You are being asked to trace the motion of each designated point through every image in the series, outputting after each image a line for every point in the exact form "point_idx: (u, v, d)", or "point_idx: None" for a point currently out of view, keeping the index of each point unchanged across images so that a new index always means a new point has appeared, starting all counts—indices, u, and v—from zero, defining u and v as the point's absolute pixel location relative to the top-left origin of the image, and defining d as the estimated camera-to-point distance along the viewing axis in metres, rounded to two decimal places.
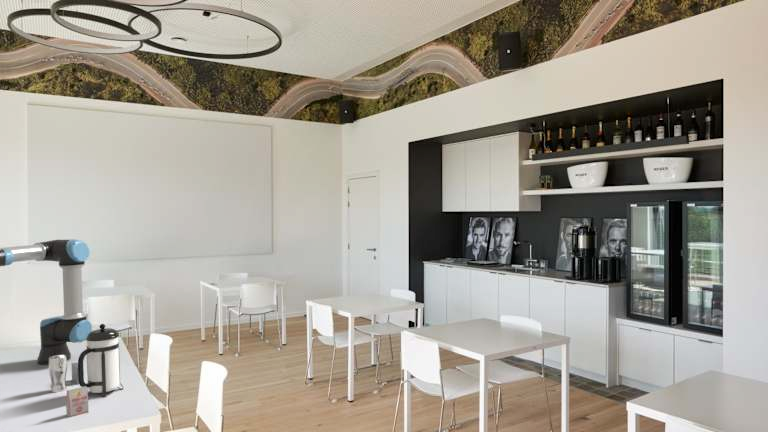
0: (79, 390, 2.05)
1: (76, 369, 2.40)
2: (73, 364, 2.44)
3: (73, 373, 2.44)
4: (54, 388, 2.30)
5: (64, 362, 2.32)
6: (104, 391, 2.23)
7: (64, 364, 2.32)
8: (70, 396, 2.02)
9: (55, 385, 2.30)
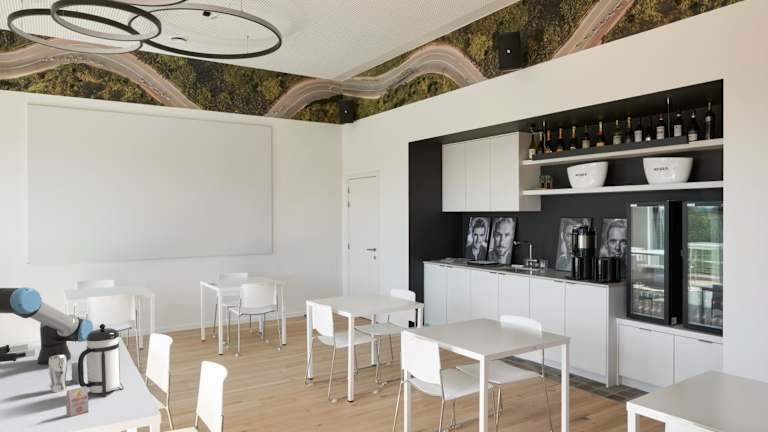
0: (79, 390, 2.05)
1: (76, 369, 2.40)
2: (73, 364, 2.44)
3: (73, 373, 2.44)
4: (54, 388, 2.30)
5: (64, 362, 2.32)
6: (104, 391, 2.23)
7: (64, 364, 2.32)
8: (70, 396, 2.02)
9: (55, 385, 2.30)
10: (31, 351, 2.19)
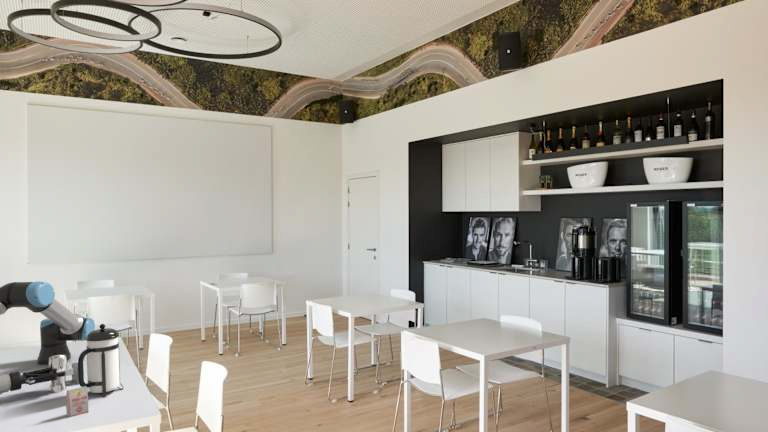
0: (79, 390, 2.05)
1: (76, 369, 2.40)
2: (73, 364, 2.44)
3: None
4: (54, 388, 2.30)
5: (64, 362, 2.32)
6: (104, 391, 2.23)
7: (64, 364, 2.32)
8: (70, 396, 2.02)
9: (55, 385, 2.30)
10: (70, 370, 2.32)
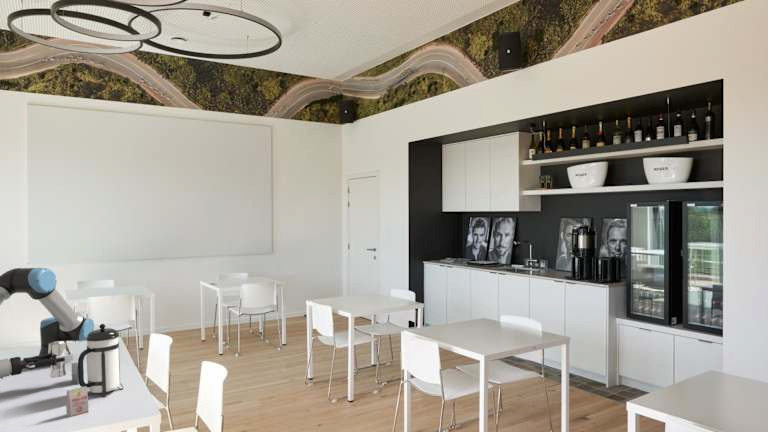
0: (79, 390, 2.05)
1: (76, 369, 2.40)
2: (73, 364, 2.44)
3: (73, 373, 2.44)
4: (54, 373, 2.35)
5: (63, 348, 2.37)
6: (104, 391, 2.23)
7: (63, 350, 2.37)
8: (70, 396, 2.02)
9: (54, 370, 2.35)
10: (69, 356, 2.37)
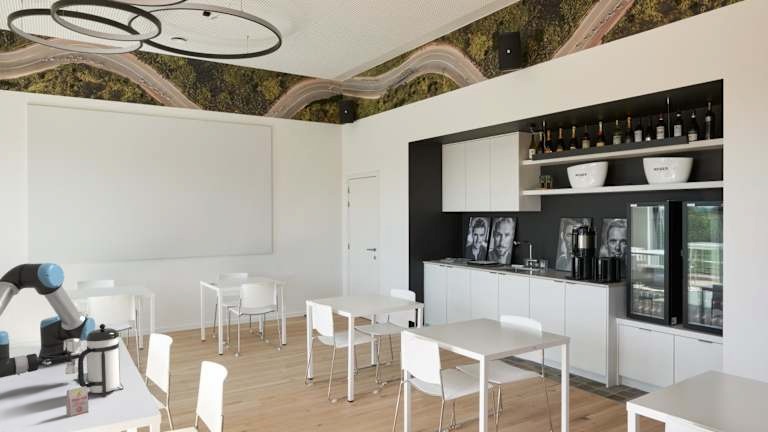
0: (79, 390, 2.05)
1: None
2: None
3: None
4: (69, 370, 2.39)
5: (78, 345, 2.41)
6: (104, 391, 2.23)
7: (78, 347, 2.41)
8: (70, 396, 2.02)
9: (69, 367, 2.39)
10: None
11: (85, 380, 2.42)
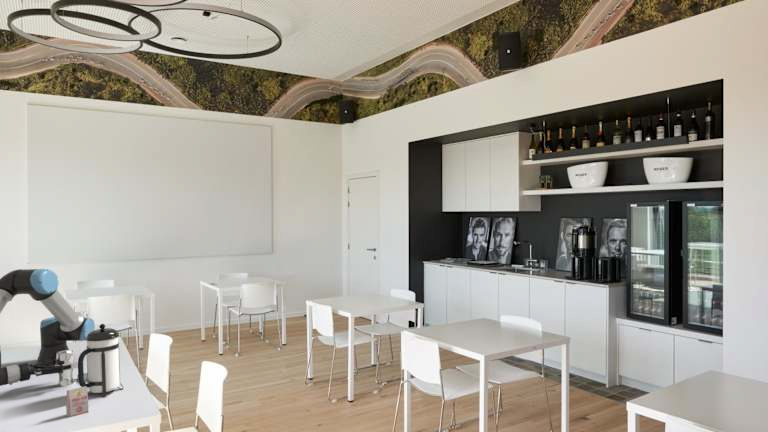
0: (79, 390, 2.05)
1: None
2: None
3: None
4: (61, 382, 2.37)
5: (71, 357, 2.39)
6: (104, 391, 2.23)
7: (71, 359, 2.39)
8: (70, 396, 2.02)
9: (62, 379, 2.37)
10: (76, 363, 2.38)
11: (85, 380, 2.42)
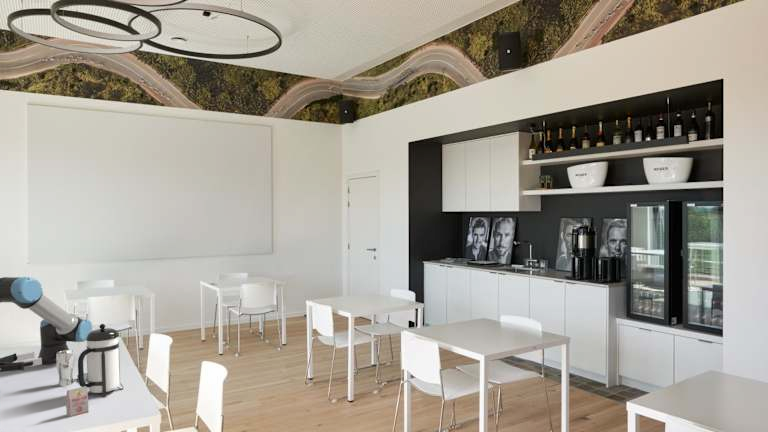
0: (79, 390, 2.05)
1: None
2: None
3: None
4: (61, 382, 2.37)
5: (71, 357, 2.39)
6: (104, 391, 2.23)
7: (71, 359, 2.39)
8: (71, 396, 2.02)
9: (62, 379, 2.37)
10: (38, 360, 2.27)
11: (85, 380, 2.42)
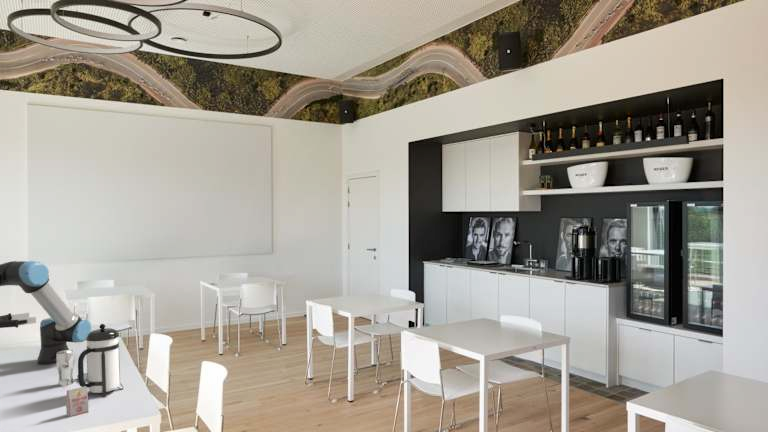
0: (79, 390, 2.05)
1: None
2: None
3: None
4: (61, 382, 2.37)
5: (71, 357, 2.39)
6: (104, 391, 2.23)
7: (71, 359, 2.39)
8: (70, 396, 2.02)
9: (62, 379, 2.37)
10: (32, 318, 2.29)
11: (85, 380, 2.42)
